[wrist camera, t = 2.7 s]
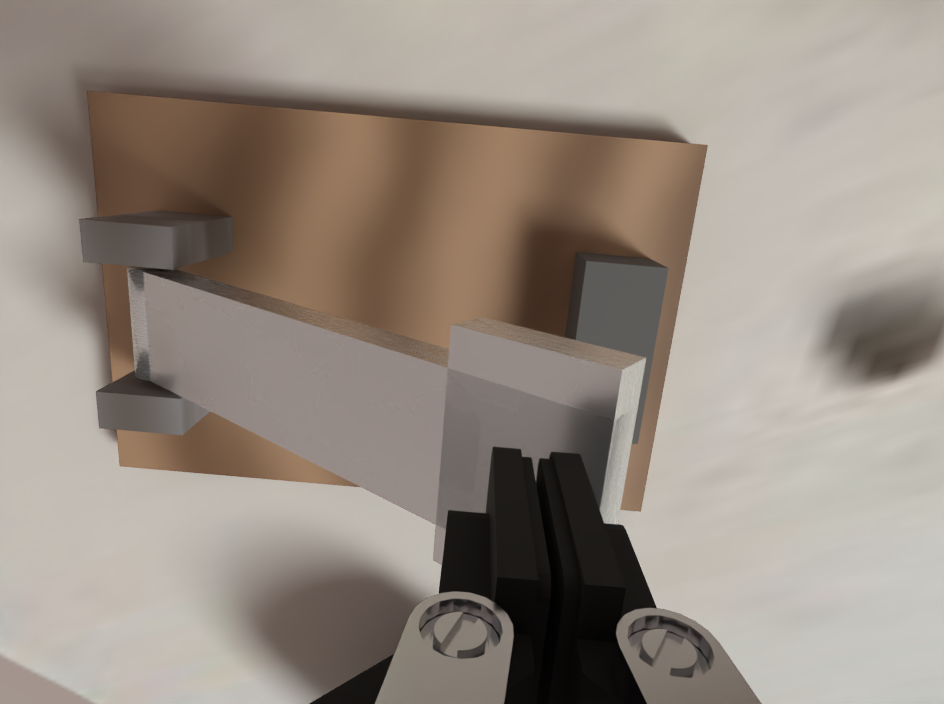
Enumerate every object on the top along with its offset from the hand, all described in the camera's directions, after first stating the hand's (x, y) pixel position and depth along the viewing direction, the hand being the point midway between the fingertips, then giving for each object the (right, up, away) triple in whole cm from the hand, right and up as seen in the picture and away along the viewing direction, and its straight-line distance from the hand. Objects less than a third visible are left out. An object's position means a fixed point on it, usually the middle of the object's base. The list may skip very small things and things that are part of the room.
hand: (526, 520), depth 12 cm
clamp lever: (-5, +2, +7) cm, 9 cm away
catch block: (+4, +4, +14) cm, 15 cm away
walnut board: (-5, +5, +16) cm, 17 cm away
